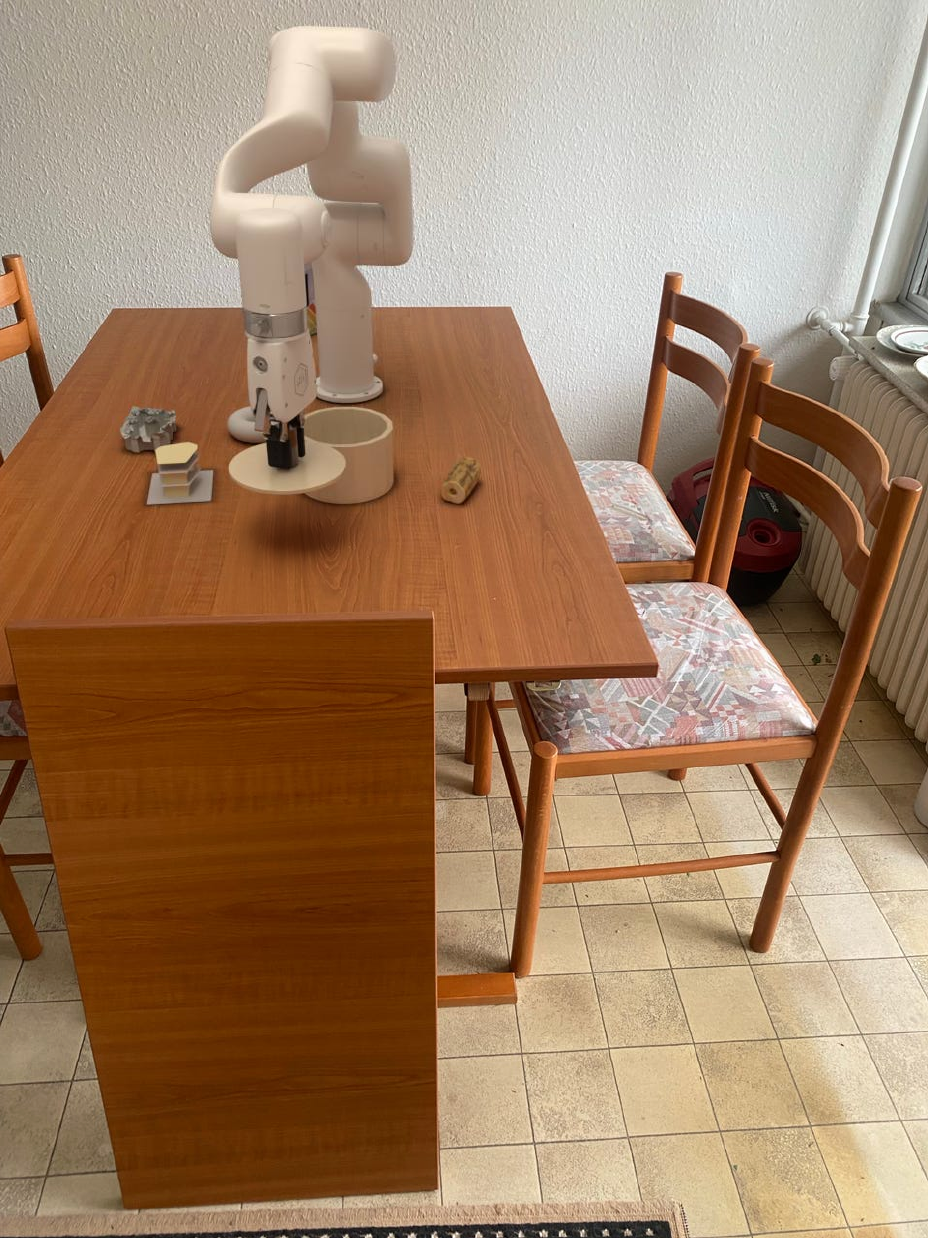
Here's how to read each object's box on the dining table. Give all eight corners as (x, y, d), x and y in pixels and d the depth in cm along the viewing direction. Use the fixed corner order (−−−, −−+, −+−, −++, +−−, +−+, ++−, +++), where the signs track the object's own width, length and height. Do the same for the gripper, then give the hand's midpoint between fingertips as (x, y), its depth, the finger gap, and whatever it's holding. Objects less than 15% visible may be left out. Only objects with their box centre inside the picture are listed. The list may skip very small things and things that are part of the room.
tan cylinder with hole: (465, 506, 149) (466, 481, 147) (437, 501, 150) (438, 476, 148) (482, 482, 155) (483, 457, 153) (456, 477, 156) (456, 453, 154)
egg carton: (169, 454, 161) (165, 429, 159) (120, 453, 161) (115, 429, 158) (181, 425, 170) (178, 401, 167) (135, 425, 169) (131, 401, 167)
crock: (322, 455, 162) (319, 401, 156) (406, 469, 158) (406, 414, 153) (282, 494, 151) (278, 437, 145) (372, 510, 147) (370, 452, 142)
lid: (262, 441, 142) (258, 397, 139) (363, 457, 139) (362, 413, 135) (207, 487, 130) (201, 440, 127) (316, 507, 127) (313, 459, 123)
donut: (220, 428, 170) (239, 450, 162) (218, 408, 168) (236, 430, 160) (279, 418, 174) (299, 439, 166) (277, 398, 172) (297, 419, 164)
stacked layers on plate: (210, 501, 148) (206, 466, 145) (146, 504, 147) (140, 469, 144) (213, 470, 156) (209, 436, 153) (152, 473, 155) (146, 439, 152)
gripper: (273, 346, 116) (285, 493, 126) (332, 304, 129) (339, 440, 139) (213, 337, 118) (230, 483, 128) (278, 297, 131) (288, 432, 141)
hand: (287, 459), depth 133 cm, fingers closed on lid, 3 cm apart
